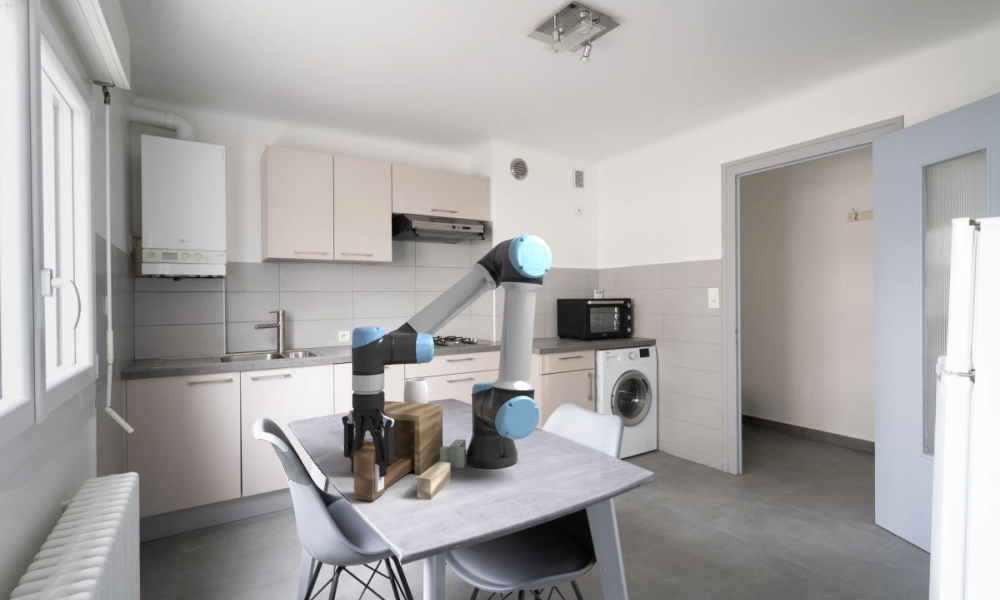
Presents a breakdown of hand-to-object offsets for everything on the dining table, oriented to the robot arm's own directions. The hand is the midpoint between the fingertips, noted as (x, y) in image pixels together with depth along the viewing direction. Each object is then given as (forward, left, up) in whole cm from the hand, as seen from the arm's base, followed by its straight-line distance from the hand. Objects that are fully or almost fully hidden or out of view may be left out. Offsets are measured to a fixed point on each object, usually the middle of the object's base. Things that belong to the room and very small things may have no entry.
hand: (369, 488), depth 115 cm
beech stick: (-13, -9, -3) cm, 16 cm away
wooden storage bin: (+6, -25, -2) cm, 26 cm away
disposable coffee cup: (+10, -14, -2) cm, 17 cm away
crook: (+5, -9, -2) cm, 11 cm away
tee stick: (-10, -31, -2) cm, 32 cm away
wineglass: (+10, -44, -2) cm, 46 cm away
